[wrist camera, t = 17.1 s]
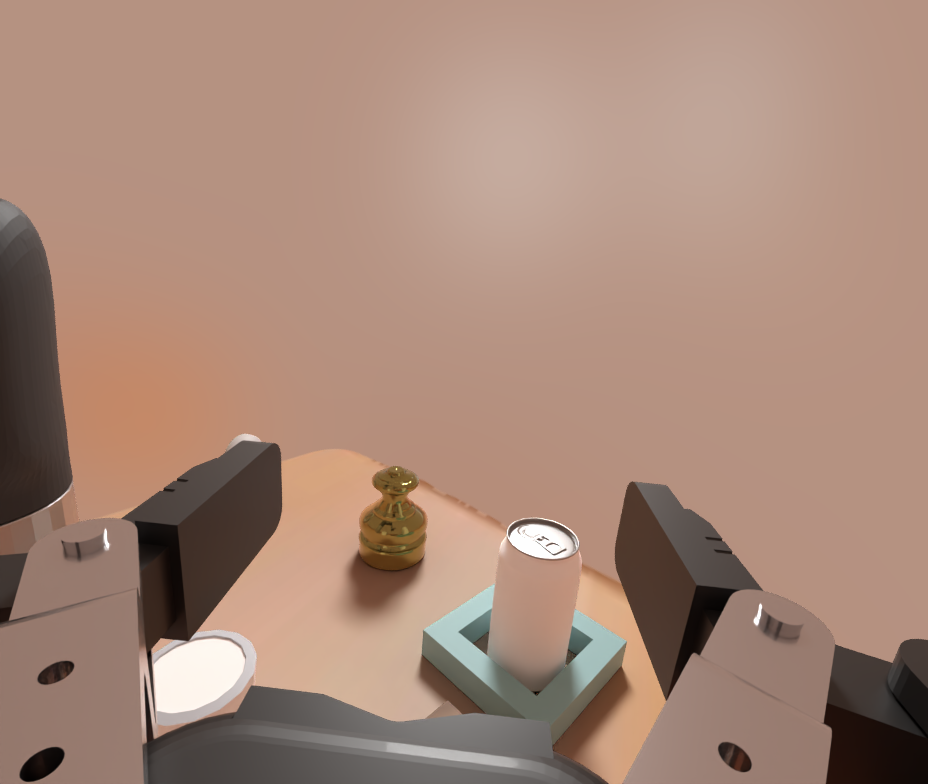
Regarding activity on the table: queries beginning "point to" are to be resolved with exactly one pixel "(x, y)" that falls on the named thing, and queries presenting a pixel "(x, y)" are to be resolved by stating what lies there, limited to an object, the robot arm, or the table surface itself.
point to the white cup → (202, 677)
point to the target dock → (500, 690)
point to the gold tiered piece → (393, 523)
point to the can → (534, 600)
